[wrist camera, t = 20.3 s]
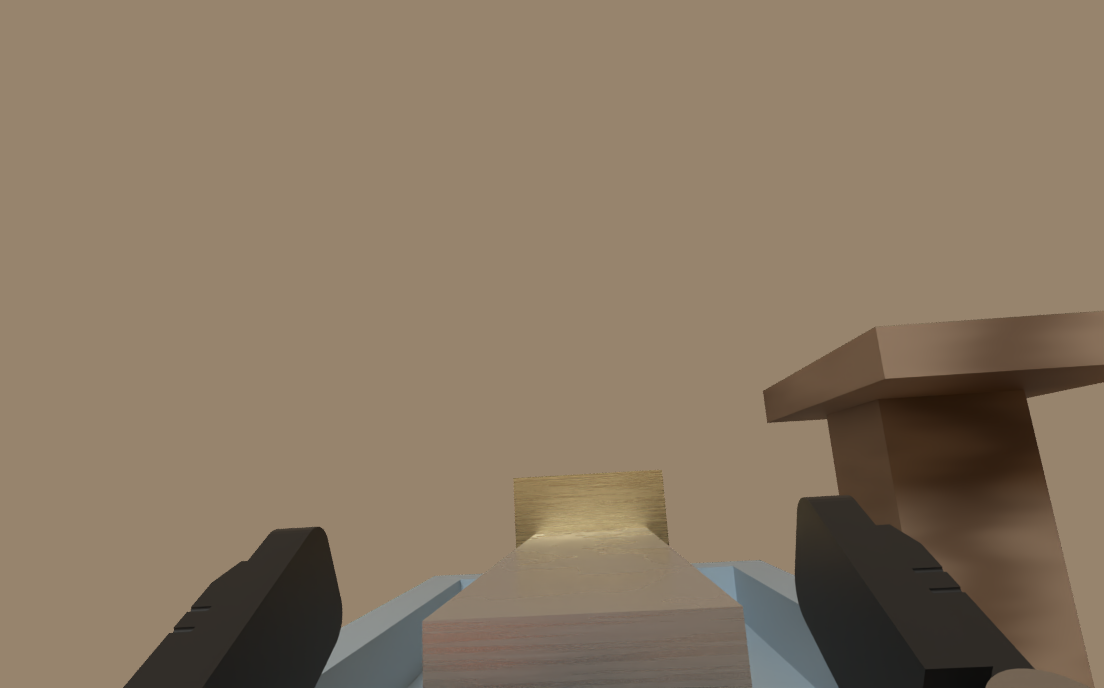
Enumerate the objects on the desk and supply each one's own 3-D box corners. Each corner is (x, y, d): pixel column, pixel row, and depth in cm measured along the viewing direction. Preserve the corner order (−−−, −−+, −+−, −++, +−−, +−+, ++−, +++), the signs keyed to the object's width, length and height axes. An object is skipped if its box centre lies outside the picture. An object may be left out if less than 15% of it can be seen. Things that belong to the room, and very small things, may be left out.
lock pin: (668, 627, 24) (654, 471, 25) (862, 1003, 7) (781, 438, 8) (529, 633, 24) (523, 479, 26) (358, 1007, 7) (366, 463, 8)
